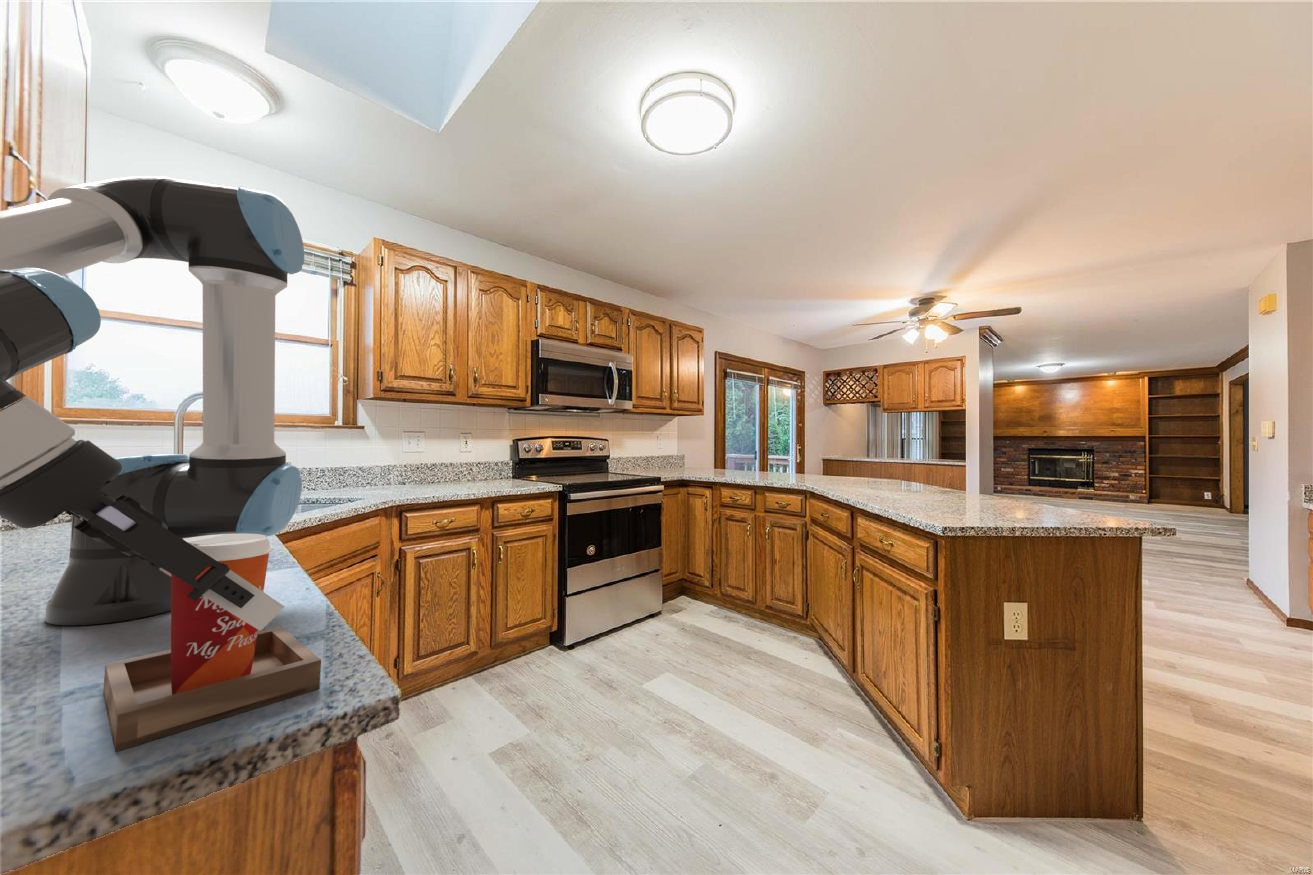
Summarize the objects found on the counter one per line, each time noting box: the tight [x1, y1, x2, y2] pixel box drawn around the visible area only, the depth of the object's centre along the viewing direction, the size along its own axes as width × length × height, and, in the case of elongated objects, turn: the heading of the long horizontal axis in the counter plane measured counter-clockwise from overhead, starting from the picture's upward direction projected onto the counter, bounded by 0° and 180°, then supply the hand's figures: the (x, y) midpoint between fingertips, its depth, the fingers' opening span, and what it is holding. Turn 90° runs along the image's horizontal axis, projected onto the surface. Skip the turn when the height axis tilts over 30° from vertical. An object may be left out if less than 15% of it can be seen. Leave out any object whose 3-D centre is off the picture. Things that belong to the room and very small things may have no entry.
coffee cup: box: [170, 534, 274, 695], centre depth 50 cm, size 8×8×15 cm
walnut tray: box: [102, 626, 322, 752], centre depth 50 cm, size 14×14×3 cm
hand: (247, 604), depth 52 cm, fingers open, 13 cm apart
